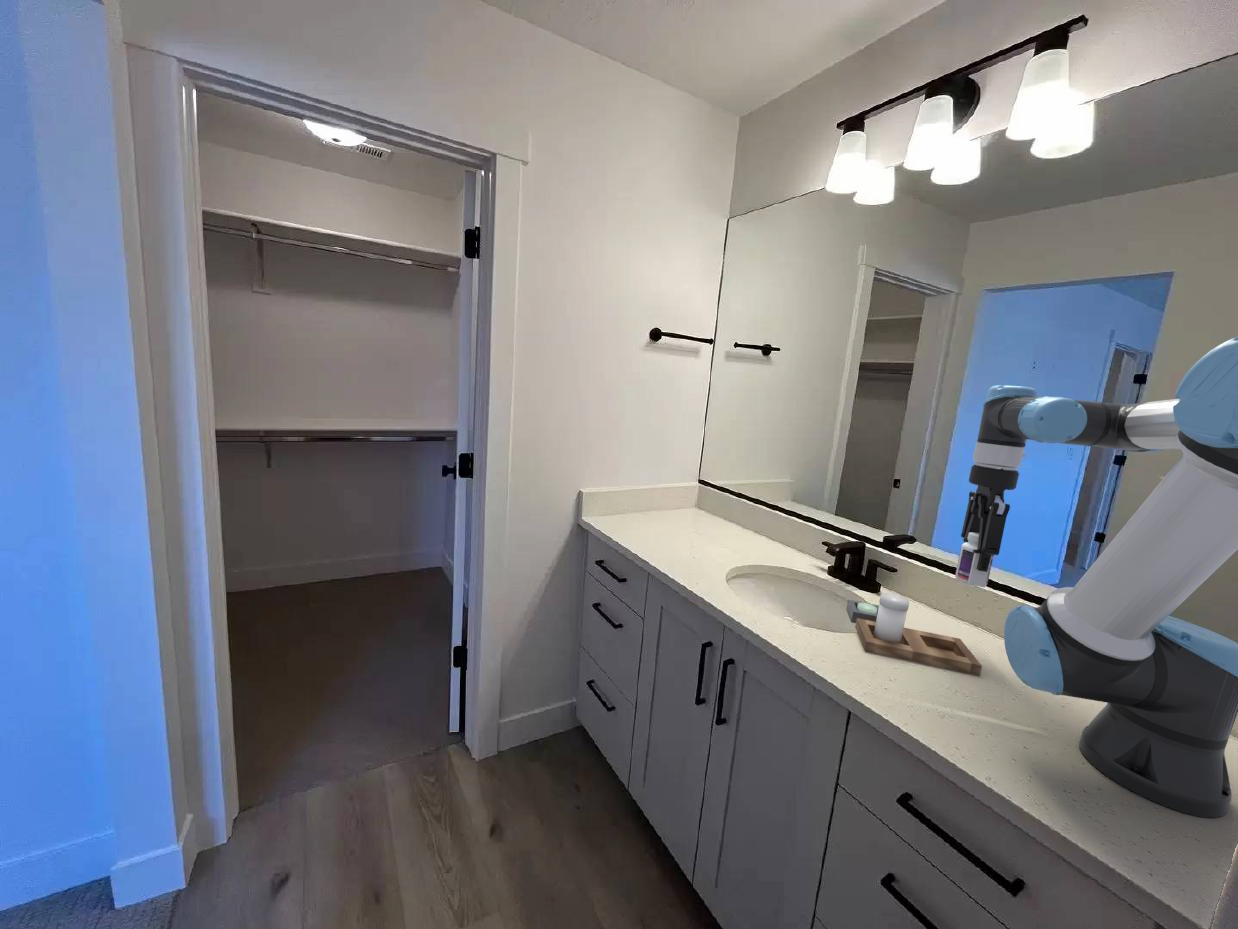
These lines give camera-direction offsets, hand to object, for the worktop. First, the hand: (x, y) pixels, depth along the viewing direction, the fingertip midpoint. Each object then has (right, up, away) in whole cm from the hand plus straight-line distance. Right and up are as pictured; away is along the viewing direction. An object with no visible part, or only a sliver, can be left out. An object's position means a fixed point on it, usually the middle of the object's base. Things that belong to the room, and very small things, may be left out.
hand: (970, 580), depth 101 cm
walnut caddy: (-11, -15, +2) cm, 19 cm away
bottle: (-16, -14, +3) cm, 21 cm away
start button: (-14, -12, +14) cm, 23 cm away
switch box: (-15, -13, +14) cm, 24 cm away
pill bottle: (0, -1, 0) cm, 1 cm away
